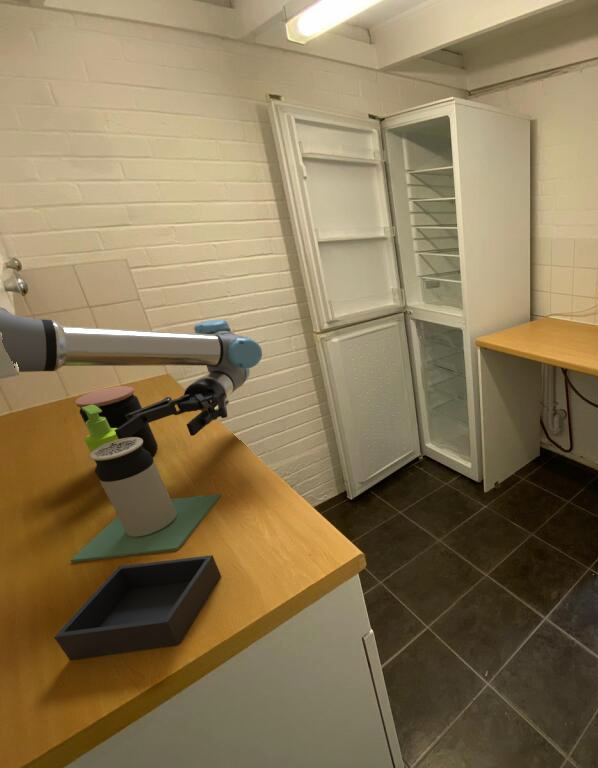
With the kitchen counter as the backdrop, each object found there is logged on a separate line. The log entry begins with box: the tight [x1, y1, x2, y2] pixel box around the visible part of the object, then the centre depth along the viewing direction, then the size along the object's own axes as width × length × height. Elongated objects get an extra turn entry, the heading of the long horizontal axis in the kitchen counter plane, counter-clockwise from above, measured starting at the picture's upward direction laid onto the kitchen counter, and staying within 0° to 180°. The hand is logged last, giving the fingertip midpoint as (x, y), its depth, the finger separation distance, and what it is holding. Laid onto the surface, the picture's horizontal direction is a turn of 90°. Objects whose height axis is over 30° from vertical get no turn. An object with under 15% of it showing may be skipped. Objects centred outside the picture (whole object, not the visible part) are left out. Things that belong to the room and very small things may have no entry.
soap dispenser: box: [82, 404, 118, 465], centre depth 94 cm, size 6×7×20 cm
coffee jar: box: [74, 385, 159, 457], centre depth 104 cm, size 11×11×18 cm
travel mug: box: [89, 437, 177, 537], centre depth 80 cm, size 8×8×18 cm
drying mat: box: [70, 493, 222, 563], centre depth 84 cm, size 18×16×1 cm
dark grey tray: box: [53, 554, 222, 661], centre depth 65 cm, size 14×12×5 cm
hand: (154, 433), depth 86 cm, fingers open, 13 cm apart
